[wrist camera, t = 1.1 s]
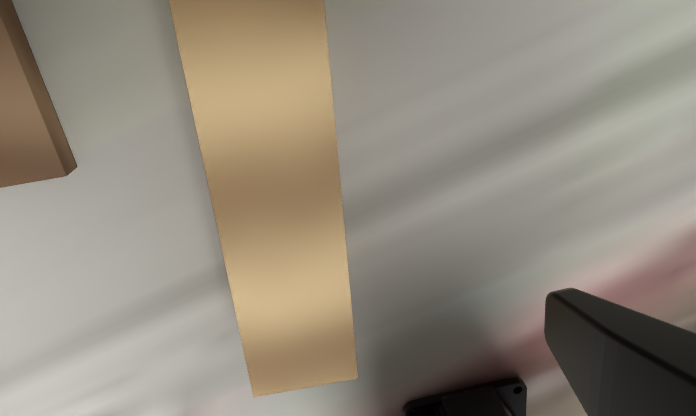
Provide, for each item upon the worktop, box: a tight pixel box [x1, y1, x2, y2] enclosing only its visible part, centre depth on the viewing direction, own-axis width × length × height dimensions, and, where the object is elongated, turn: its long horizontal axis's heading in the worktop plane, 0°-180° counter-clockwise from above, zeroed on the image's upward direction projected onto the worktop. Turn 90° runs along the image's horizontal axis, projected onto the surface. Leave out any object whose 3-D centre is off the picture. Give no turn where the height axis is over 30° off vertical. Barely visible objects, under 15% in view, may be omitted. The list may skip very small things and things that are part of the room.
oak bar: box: [169, 0, 358, 397], centre depth 16 cm, size 16×4×4 cm, turn 4°
